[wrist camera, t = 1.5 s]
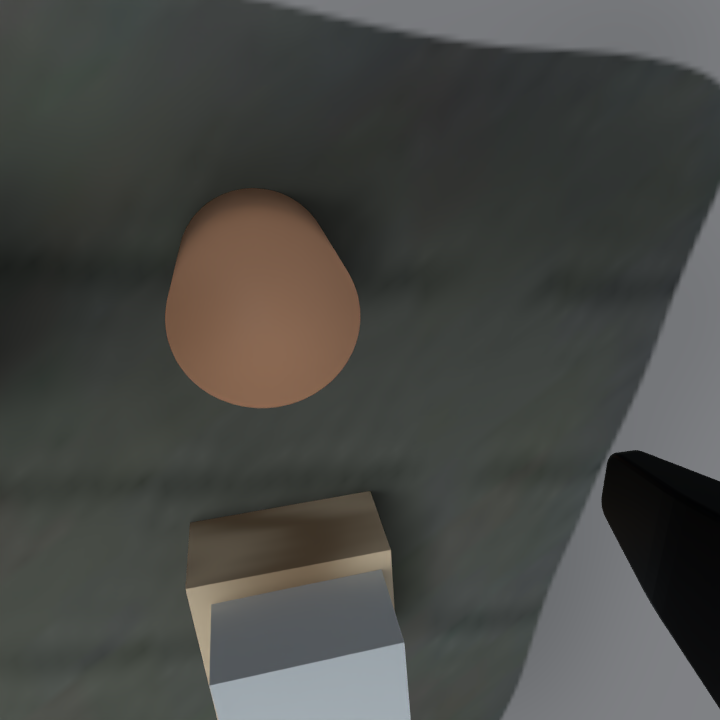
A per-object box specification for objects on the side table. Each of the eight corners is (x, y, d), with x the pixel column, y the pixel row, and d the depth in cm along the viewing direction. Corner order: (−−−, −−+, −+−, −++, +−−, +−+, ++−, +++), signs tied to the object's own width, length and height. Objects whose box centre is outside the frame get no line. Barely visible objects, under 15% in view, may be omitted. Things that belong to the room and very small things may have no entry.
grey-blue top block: (240, 720, 23) (242, 807, 20) (211, 604, 20) (209, 685, 18) (392, 685, 24) (413, 765, 21) (381, 569, 21) (404, 642, 18)
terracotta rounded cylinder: (152, 292, 19) (131, 361, 15) (222, 157, 18) (222, 187, 14) (284, 355, 21) (301, 434, 17) (356, 235, 20) (395, 285, 15)
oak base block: (220, 648, 26) (219, 728, 23) (190, 518, 23) (185, 588, 20) (378, 615, 27) (399, 688, 24) (368, 486, 24) (390, 549, 21)
